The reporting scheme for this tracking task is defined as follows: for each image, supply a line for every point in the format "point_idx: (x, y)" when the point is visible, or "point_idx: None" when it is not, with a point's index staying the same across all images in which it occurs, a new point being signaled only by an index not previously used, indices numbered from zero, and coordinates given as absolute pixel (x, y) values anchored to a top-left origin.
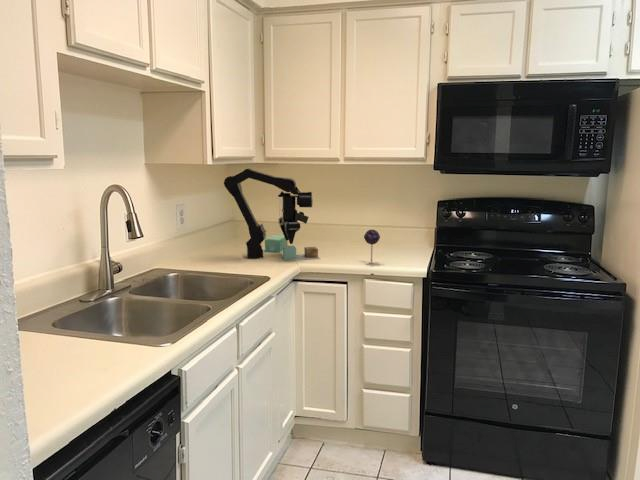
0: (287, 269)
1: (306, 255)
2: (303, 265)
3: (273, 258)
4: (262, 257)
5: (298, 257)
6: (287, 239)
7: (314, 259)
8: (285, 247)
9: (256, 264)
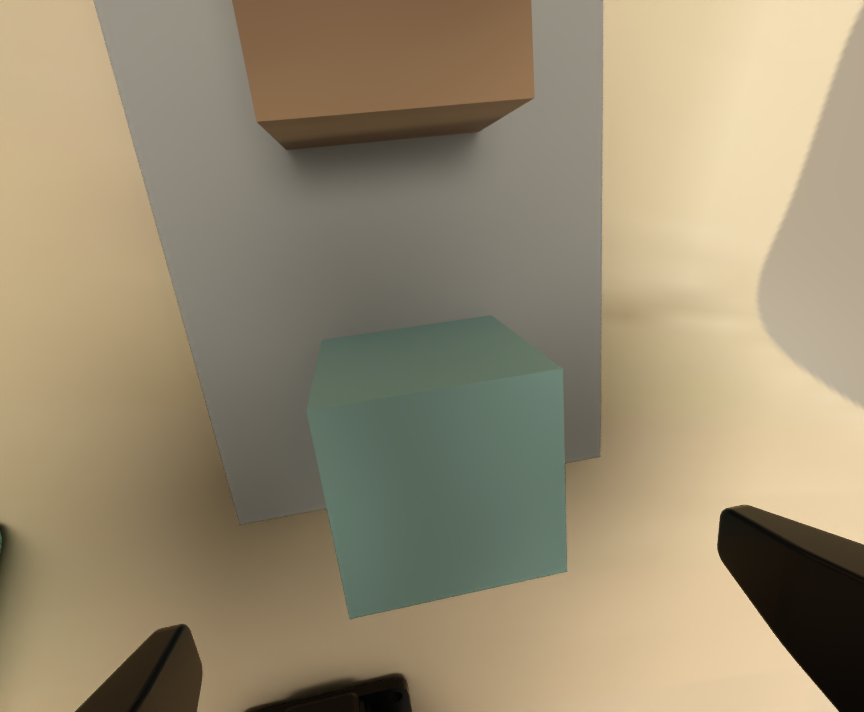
0: (861, 427)
1: (441, 129)
2: (757, 238)
3: (290, 579)
4: (359, 703)
5: (410, 272)
6: (187, 658)
7: (600, 13)
8: (505, 566)
9: (573, 696)
